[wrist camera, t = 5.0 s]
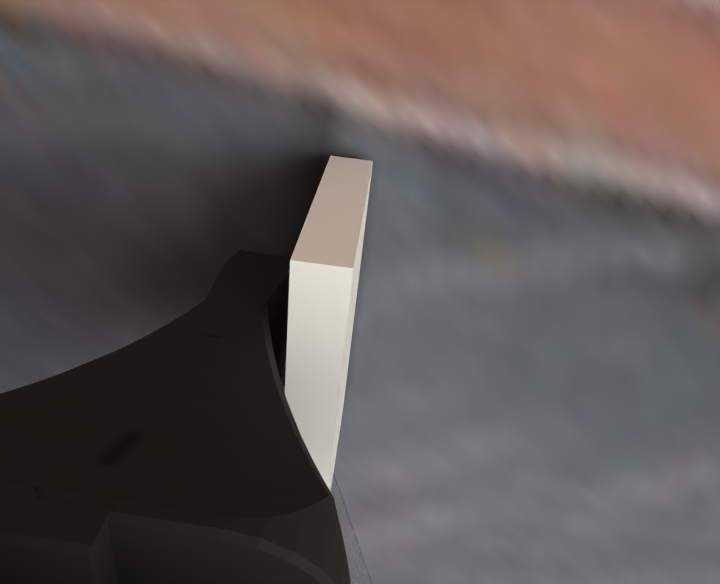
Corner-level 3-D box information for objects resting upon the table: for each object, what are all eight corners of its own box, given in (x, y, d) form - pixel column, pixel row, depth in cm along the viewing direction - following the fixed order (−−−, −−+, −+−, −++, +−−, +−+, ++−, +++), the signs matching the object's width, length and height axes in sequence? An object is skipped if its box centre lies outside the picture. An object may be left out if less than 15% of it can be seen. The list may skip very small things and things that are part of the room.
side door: (289, 434, 14) (252, 584, 11) (304, 151, 10) (251, 254, 7) (338, 441, 14) (316, 593, 11) (372, 161, 10) (353, 268, 7)
